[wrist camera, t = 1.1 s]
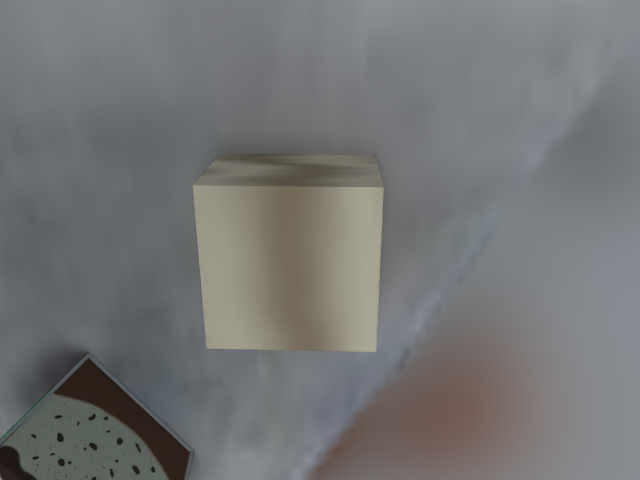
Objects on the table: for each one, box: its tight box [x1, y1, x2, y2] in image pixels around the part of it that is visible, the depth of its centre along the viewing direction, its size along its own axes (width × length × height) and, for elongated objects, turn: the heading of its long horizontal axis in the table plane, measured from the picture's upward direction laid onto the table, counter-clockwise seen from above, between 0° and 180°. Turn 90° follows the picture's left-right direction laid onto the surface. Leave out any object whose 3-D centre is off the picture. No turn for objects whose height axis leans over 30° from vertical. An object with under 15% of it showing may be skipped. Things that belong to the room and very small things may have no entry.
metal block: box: [193, 154, 384, 352], centre depth 28 cm, size 8×8×6 cm
